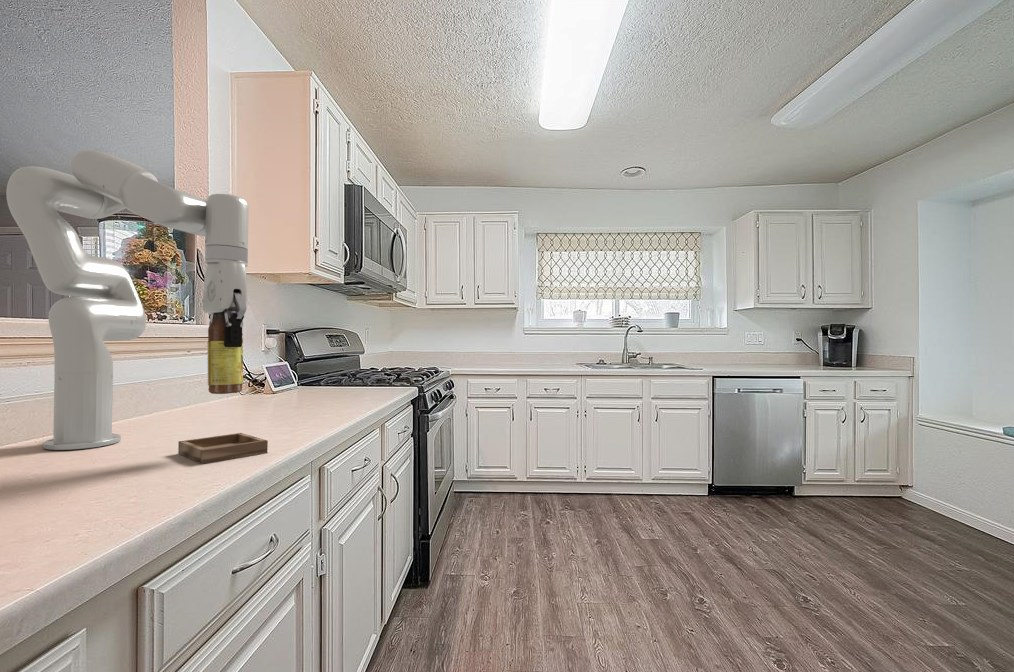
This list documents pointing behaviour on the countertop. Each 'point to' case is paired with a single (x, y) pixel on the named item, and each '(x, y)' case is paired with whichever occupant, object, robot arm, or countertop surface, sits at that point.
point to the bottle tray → (222, 447)
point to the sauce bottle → (223, 360)
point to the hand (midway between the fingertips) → (225, 345)
